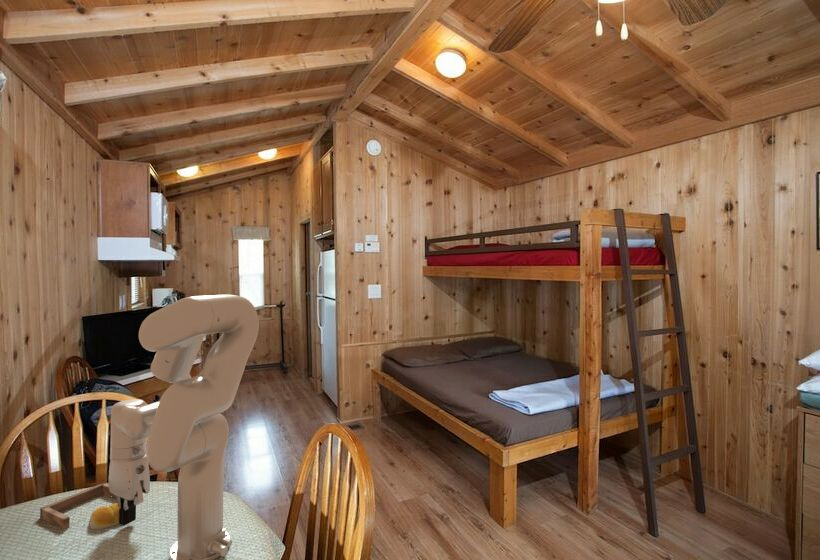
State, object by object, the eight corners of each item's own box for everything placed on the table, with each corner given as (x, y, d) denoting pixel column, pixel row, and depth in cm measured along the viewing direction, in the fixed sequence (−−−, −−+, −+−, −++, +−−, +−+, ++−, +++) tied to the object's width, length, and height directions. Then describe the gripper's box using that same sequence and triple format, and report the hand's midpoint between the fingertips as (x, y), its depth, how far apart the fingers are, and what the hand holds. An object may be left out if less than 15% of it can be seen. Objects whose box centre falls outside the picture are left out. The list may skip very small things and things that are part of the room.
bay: (128, 499, 117) (128, 490, 117) (63, 529, 103) (63, 519, 103) (104, 490, 122) (104, 482, 122) (40, 517, 108) (40, 508, 108)
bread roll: (135, 519, 108) (135, 504, 108) (92, 534, 102) (93, 518, 102) (127, 507, 114) (127, 492, 114) (86, 520, 107) (86, 505, 107)
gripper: (162, 450, 105) (160, 522, 105) (125, 439, 111) (124, 507, 111) (131, 462, 98) (130, 539, 98) (94, 449, 104) (93, 522, 104)
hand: (127, 522), depth 105 cm, fingers closed
